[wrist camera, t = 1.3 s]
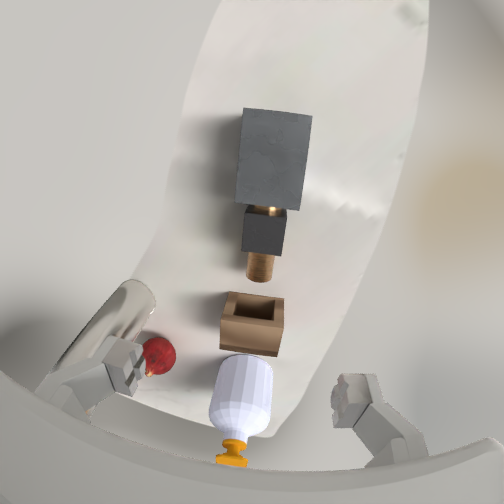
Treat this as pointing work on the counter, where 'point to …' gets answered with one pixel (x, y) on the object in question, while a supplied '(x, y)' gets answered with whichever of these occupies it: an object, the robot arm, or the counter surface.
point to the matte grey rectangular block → (272, 158)
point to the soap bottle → (241, 404)
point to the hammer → (263, 240)
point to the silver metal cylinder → (111, 324)
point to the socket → (252, 324)
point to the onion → (158, 356)
